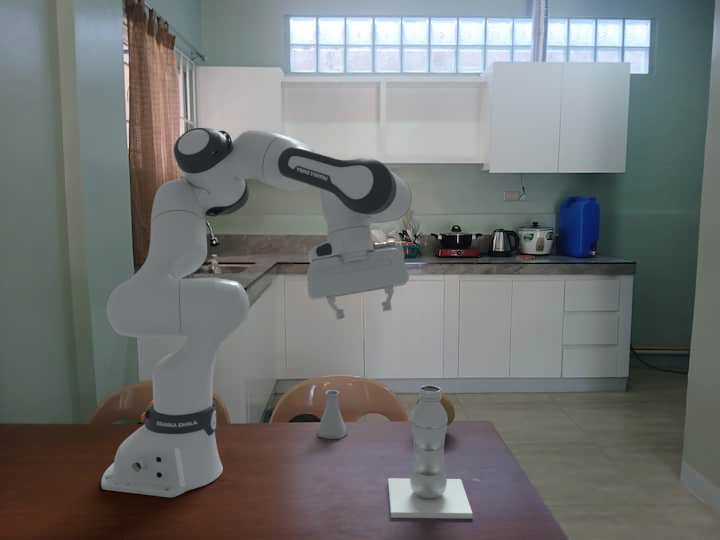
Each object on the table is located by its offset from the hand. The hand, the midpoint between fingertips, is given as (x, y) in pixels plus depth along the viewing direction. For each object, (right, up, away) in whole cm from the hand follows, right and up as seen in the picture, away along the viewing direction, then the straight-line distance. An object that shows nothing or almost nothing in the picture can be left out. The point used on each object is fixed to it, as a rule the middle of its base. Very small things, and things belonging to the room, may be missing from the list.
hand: (364, 314), depth 114 cm
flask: (-7, -29, +21) cm, 37 cm away
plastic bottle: (+12, -32, -8) cm, 35 cm away
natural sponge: (+17, -29, +22) cm, 40 cm away
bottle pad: (+12, -33, -8) cm, 36 cm away
